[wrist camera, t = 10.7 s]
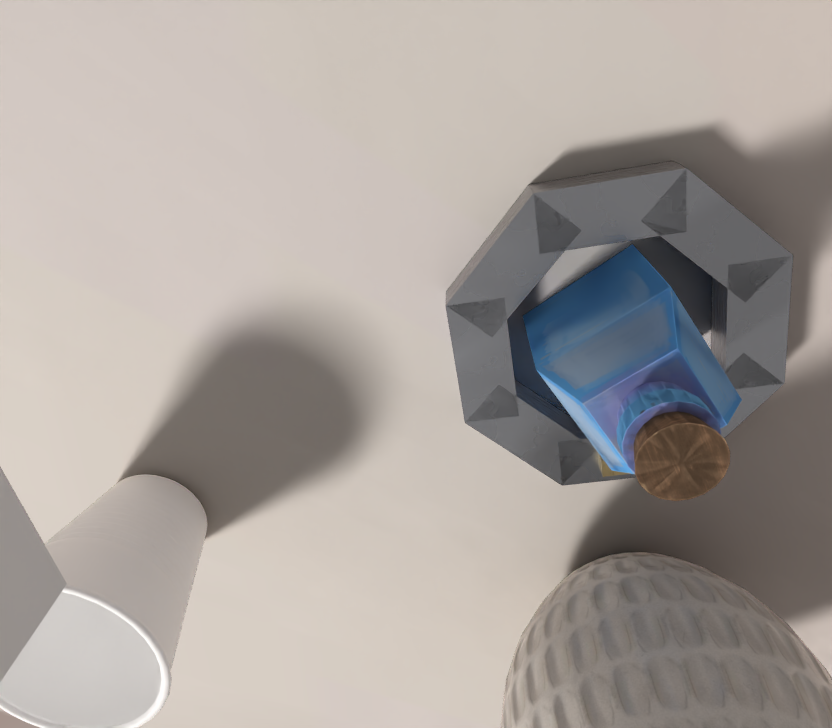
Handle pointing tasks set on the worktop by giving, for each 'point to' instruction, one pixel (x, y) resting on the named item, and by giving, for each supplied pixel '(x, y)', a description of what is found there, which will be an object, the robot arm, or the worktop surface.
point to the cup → (112, 610)
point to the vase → (661, 654)
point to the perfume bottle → (636, 376)
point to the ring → (597, 225)
